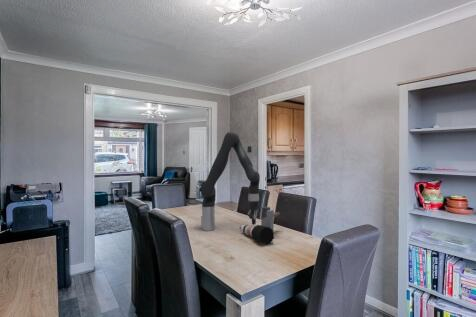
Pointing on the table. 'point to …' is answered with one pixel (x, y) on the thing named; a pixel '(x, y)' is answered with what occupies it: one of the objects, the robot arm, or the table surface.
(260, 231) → the telephoto camera lens
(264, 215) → the hold down bar
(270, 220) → the clamp post
